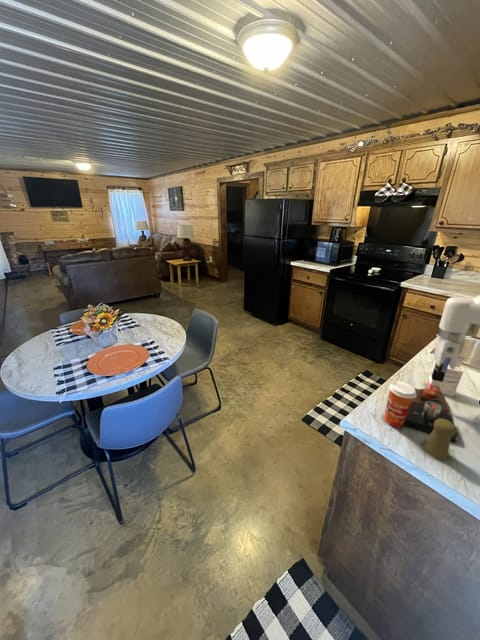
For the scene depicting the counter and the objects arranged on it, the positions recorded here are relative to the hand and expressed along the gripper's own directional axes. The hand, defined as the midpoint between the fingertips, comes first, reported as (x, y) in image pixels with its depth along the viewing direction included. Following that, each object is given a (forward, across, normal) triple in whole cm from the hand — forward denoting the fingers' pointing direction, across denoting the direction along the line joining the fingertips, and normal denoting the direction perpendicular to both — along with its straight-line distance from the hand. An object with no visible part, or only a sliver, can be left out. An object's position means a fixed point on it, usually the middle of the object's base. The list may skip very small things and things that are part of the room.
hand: (436, 379), depth 95 cm
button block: (+11, 0, +1) cm, 11 cm away
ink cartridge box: (+11, +12, -5) cm, 17 cm away
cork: (+11, -25, +1) cm, 27 cm away
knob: (+8, -13, +2) cm, 15 cm away
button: (+7, 0, +1) cm, 7 cm away
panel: (+11, -13, +2) cm, 17 cm away
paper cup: (+11, -17, +12) cm, 24 cm away
